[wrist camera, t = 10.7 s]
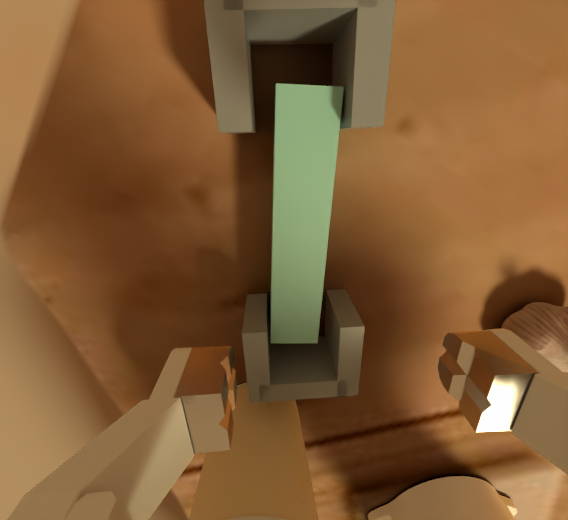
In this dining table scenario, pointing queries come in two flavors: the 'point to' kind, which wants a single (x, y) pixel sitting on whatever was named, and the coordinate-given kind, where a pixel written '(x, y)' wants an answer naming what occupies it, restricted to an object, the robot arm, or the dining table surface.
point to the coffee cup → (258, 467)
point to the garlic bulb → (543, 330)
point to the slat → (301, 206)
